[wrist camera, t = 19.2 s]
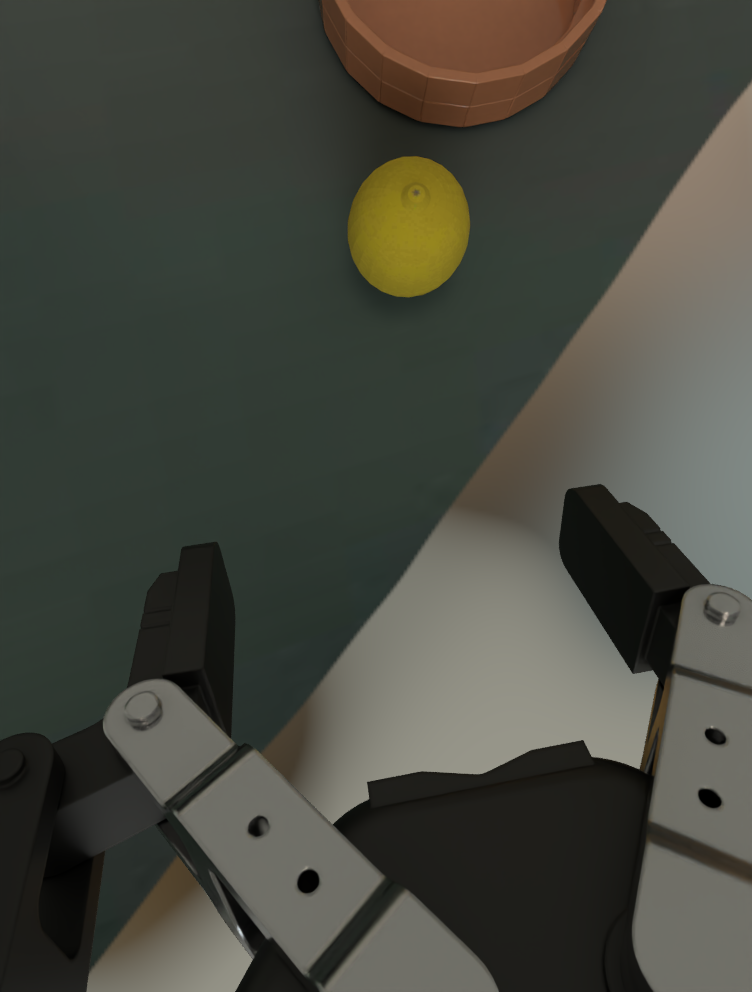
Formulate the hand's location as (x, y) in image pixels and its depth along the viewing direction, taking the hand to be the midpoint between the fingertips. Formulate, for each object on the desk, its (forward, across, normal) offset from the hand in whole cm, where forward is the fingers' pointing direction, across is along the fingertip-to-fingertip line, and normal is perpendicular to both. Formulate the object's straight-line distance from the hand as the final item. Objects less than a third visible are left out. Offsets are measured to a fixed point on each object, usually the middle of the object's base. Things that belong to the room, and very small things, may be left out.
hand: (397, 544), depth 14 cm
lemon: (+22, -4, -1) cm, 23 cm away
